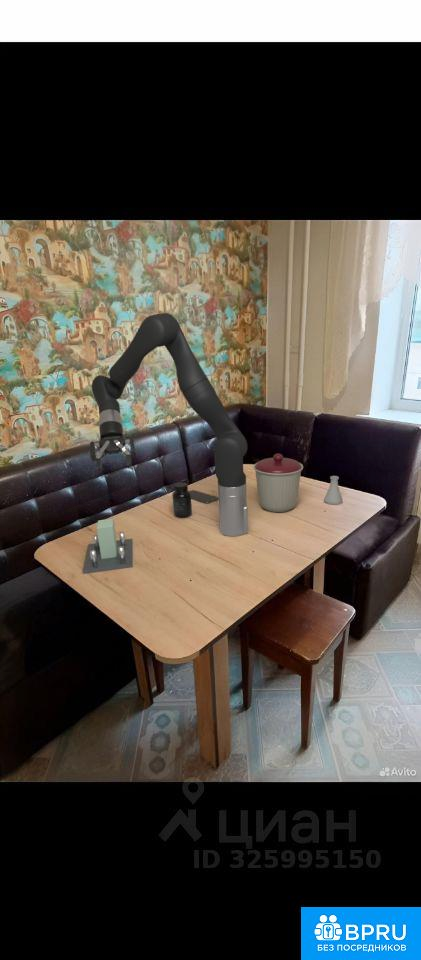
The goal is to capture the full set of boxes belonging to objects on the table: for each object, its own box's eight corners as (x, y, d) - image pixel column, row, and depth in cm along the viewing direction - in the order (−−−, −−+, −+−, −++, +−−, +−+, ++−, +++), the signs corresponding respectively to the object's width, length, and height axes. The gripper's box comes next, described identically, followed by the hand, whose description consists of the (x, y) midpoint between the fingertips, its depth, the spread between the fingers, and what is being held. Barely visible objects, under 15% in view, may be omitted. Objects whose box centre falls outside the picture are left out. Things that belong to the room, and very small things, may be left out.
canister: (262, 496, 166) (262, 446, 159) (306, 501, 159) (308, 449, 152) (247, 513, 151) (246, 458, 144) (295, 520, 143) (296, 463, 136)
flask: (327, 496, 162) (328, 473, 159) (345, 500, 158) (347, 475, 155) (320, 502, 157) (321, 478, 153) (339, 506, 153) (340, 481, 149)
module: (117, 547, 128) (113, 518, 124) (116, 556, 122) (112, 526, 119) (102, 549, 127) (98, 520, 124) (101, 558, 121) (96, 528, 118)
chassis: (132, 541, 133) (131, 527, 132) (132, 567, 119) (130, 551, 117) (89, 547, 131) (86, 532, 130) (83, 573, 116) (80, 557, 115)
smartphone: (193, 489, 176) (219, 497, 165) (193, 491, 176) (219, 499, 165) (180, 494, 171) (206, 502, 160) (180, 496, 171) (207, 505, 160)
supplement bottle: (180, 510, 156) (177, 480, 152) (195, 512, 153) (193, 482, 149) (170, 516, 151) (167, 486, 147) (186, 519, 148) (183, 489, 144)
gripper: (86, 422, 131) (89, 466, 124) (131, 417, 133) (136, 460, 126) (91, 435, 138) (93, 477, 131) (133, 430, 140) (138, 471, 133)
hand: (114, 468), depth 128 cm, fingers open, 8 cm apart
